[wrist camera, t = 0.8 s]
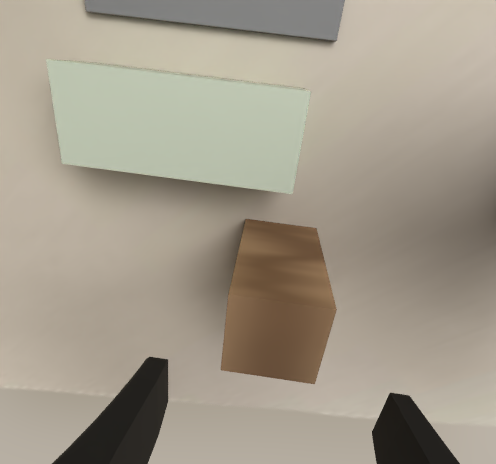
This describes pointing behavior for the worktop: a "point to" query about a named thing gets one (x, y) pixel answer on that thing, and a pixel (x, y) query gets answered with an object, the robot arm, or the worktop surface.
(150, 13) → the mat
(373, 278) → the worktop surface
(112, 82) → the pale green rectangular block
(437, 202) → the worktop surface
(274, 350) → the walnut block
